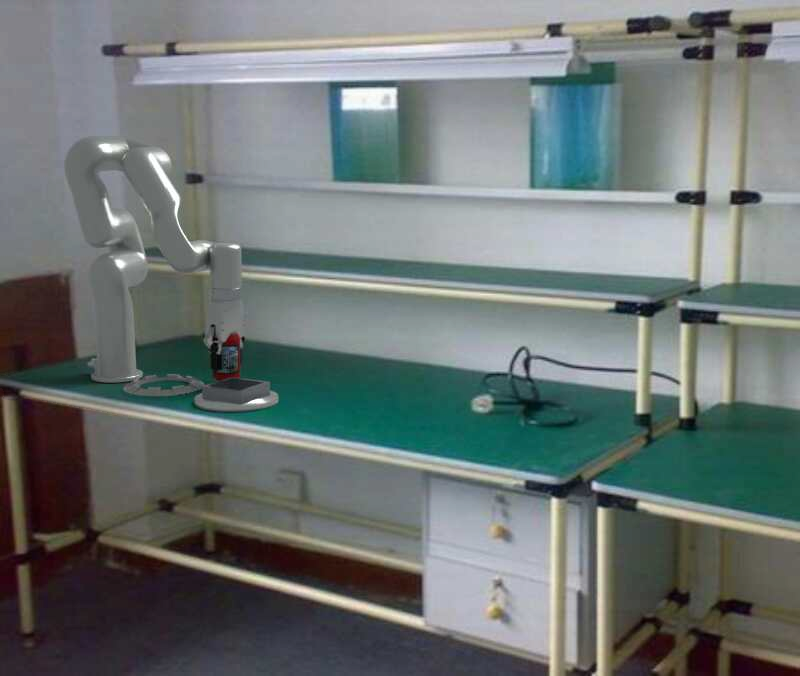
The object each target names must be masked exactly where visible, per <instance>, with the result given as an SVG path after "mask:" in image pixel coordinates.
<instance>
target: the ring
mask: <svg viewBox="0 0 800 676" xmlns="http://www.w3.org/2000/svg"><path fill="white" fill-rule="evenodd" d="M157 382H182V383H183V382H184V383H188V384H189V385H187V386H185V385H183V384H181V385H174V386H171V388H170V389H162V387H161V386H159V387H155V386H154V387H152V386H149V387H148V388H147V389H146V388H145V389H144V388H142V386H141V385H144V384H149V383H157ZM204 385H206V384H205V383H204V382H203V381H201V380H199V379H197V378H195V377H193V376H189V375H186V376H185V377H183V376H182V375H180V374H175V373H174V374H170V373H169V374H166V377H157V374H156V375H155V374H154V375H147V376H144V377H142V378H140V379H136V380H133V381H130V383H127V384H125V385H124V386H123V388H122V390H123V391H124V392H125V393H126V394H130V395H135V396H141V397H142V396H143V397H170V396H179V394H181V395H186V394H185V393H187V394H191V393H195V392H198V391H200V390H202V386H204ZM197 390H198V391H197ZM194 391H195V392H194ZM190 392H191V393H190Z"/></svg>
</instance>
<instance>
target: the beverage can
mask: <svg viewBox="0 0 800 676" xmlns="http://www.w3.org/2000/svg"><path fill="white" fill-rule="evenodd" d="M215 340H216V341H218V338H215ZM215 346H216V347H218V344H215ZM220 354H222V355H223V369H222V370H214V369H211V371H212V373H211V374H212V378H213V379H215V380H216V381H221V380H224V379H227V378H230V377H235V378H241V365H240V337H239V335H238V333H237V332H234V333H230V335H229V337H228V338H227V340H226V342H224V343H223V346H222V350H221V353H220Z"/></svg>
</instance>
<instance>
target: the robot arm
mask: <svg viewBox="0 0 800 676" xmlns="http://www.w3.org/2000/svg"><path fill="white" fill-rule="evenodd" d="M172 167H173V166H172V160H171V158H170V156H169V154H168V153H167V152H166V151H165V150H164V149H162V148H160V147H159V146H154V145H151V144H147V143H144V142H140V141H137V140H134V139H130V138H127V137H123V136H117V135H92V136H85V137H82V138H80V139H78V140H76V141H75V142H74V143H73V144H72V145H71V146H70V148H69V149H68V151H67V153H66V155H65V158H64V167H63V168H64V174H65V178H66V182H67V184H68V188H69V190H70V193H71V195H72V200H73V203H74V207H75V211H76V214H77V218H78V222H79V226H80V230H81V233H82V235H83V238H84V240H85V242H86V244H87V245H88V246H90V247H92V248H95V249H104V248H107V249H108V251H109V252H105V253H102V254H100V255H99V256H96V257H95V258H94V259H93V261H91V263H90V265H89V267H88V282H89V286H90V291H91V295H92V303H93V315H94V326H95V327H94V329H95V347H96V349H95V350H96V358H91V359H90V361H88V362H87V367H88V368H94V372H92V373H91V374H90V376H91V378H90V379H91V380H92V381H94V382H97V383H98V382H99V383H127V382H132V381H134V380H136V379H139V380H141V379H142V378H143V376H144V372H143V371H142V370H141V369H137V357H136V353H137V352H136V335H135V334H136V333H135V314H134V304H133V300H132V297H131V293H130V291H129V288H131V287H135V286H138V285H140V284H141V283H142V282H143V281H144V280H146V277H147V275H148V273H149V266H148V259H147V255H146V252H145V248H144V243H143V240H142V236H141V233H140V229H139V225H138V224H137V222H136V219H135V218H134V216H133V214H131V213H130V212H129V211H128V210H126V209H124V208H121V207H113V205H112V202H111V199H110V194H109V191H108V189H107V186H106V185H105V183H104V181H103V179H102V178H101V177H100V175H99V174H100V172H106V171H118V172H122V173H123V174H124V175H125V177H126V179H127V180H128V182H129V184H130V185H131V187H132V188H133V190H134V192H135V193H136V195H137V196H138V197H139V199H140V201H141V202H142V204H143V206H144V207H145V209H146V211H147V212H148V214H149V216H150V224H151V230H152V233H153V234H152V235H153V238H154V241H155V243H156V246H157V247H158V249H159V250H160V252H161V254H162V256H163V257H164V259H165V260H166V262H167V263H168V265H170V267H171V268H172V269H173V270H174V271H175V272H176V273H178V274H181V275H185V276H187V275H193V274H196V273H202V272H206V271H209V294H210V295H209V300H208V304H207V309H206V315H205V316H206V317H205V331H204V332H205V334H204V335H205V336H204V338H203V344H204V345H205V346H206V349H207V350H208V353H209V354H210V369H211V370H212V369H214V370H222V369H223V355H222V354H220V353H221V350H222V346H223V343H224V342H226V340H227V338H228V337H229V335H230V333H234V332H237V333H238V335H239V337H240V366H241V365H242V364H243V362H242V361H243V359H242V358H243V357H242V356H243V355H242V353H243V352H242V351H243V350H242V349H243V348H244V343H245V340H246V338H247V334H248V332H249V330H248V328H246V326H245V311H244V304H243V299H242V298H243V295H242V289H243V288H242V283H243V282H242V274H243V273H242V272H243V270H242V267H243V265H242V262H243V261H242V259H243V257H242V247H241V246H240V245H239V244H238V243H234V242H215V241H210V240H206V239H205V240H204V239H198V240H197V239H196V240H194V241H193V240H191V241H189V240H188V238H187V236H186V235H185V234H184V232H183V229H182V228H181V226H180V222H179V220H178V213H179V208H180V205H181V202H182V198H181V195H180V194H179V192H178V191H177V189H176V187H175V185H174V184H173V183H172V180H170V177H169V176H170V175H171V172H172ZM215 338H218V341H216V340H215ZM215 344H218V347H216V346H215Z"/></svg>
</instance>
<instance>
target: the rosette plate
mask: <svg viewBox="0 0 800 676" xmlns="http://www.w3.org/2000/svg"><path fill="white" fill-rule="evenodd" d="M278 402H279V394H278V393H277V392H275V391H274V390H271V381H266V380H256V379H250V378H241V377H239V378H235V377H230V378H227V379H224V380H221V381H218V380H216V381H214V382H211V383H208V384H205V385H204V386H202V389H201V392H200V393H199V394H196V396H194V405H195V407H197V408H198V409H201V410H204V411H210V412H217V413H242V412H243V413H244V412H252V411H253V412H254V411H261V410H264V409H268V408H271V407H273V405H274V406H276V405H277V404H278Z"/></svg>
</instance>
